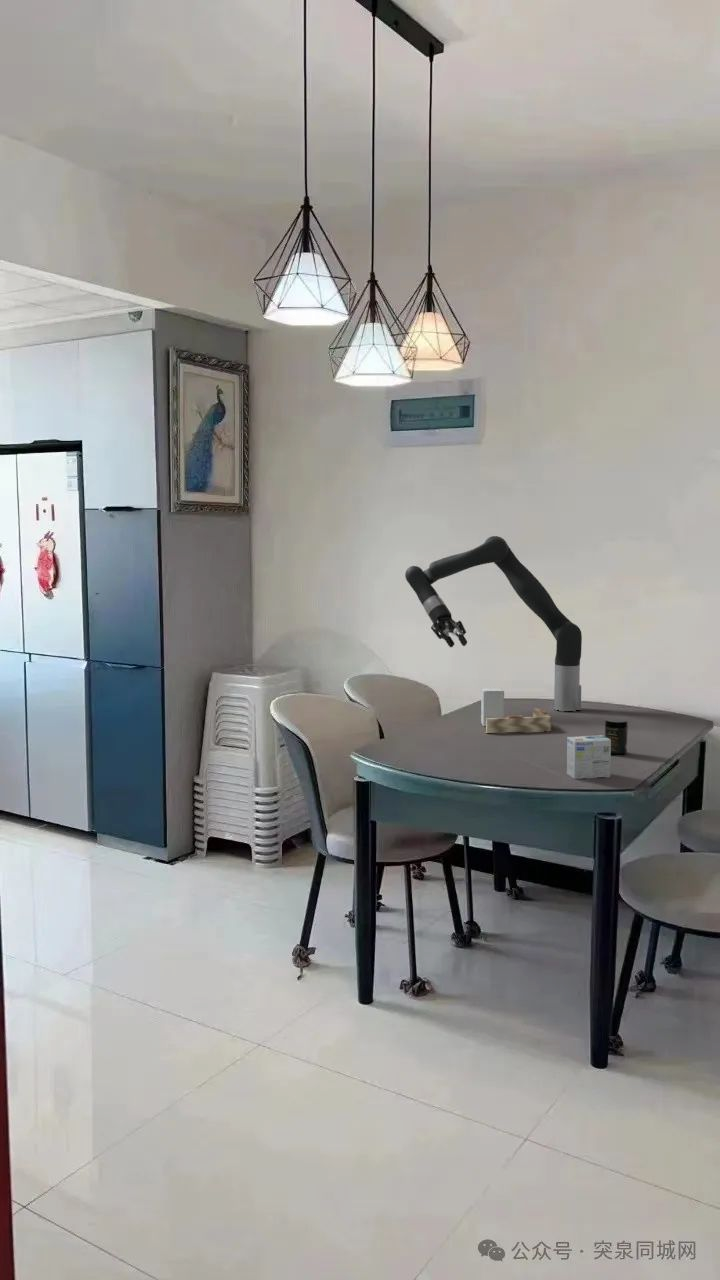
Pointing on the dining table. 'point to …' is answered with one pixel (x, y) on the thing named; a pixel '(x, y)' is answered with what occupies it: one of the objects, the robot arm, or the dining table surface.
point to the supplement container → (617, 735)
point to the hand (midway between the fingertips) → (459, 645)
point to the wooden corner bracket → (520, 723)
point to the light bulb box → (588, 756)
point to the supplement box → (492, 704)
